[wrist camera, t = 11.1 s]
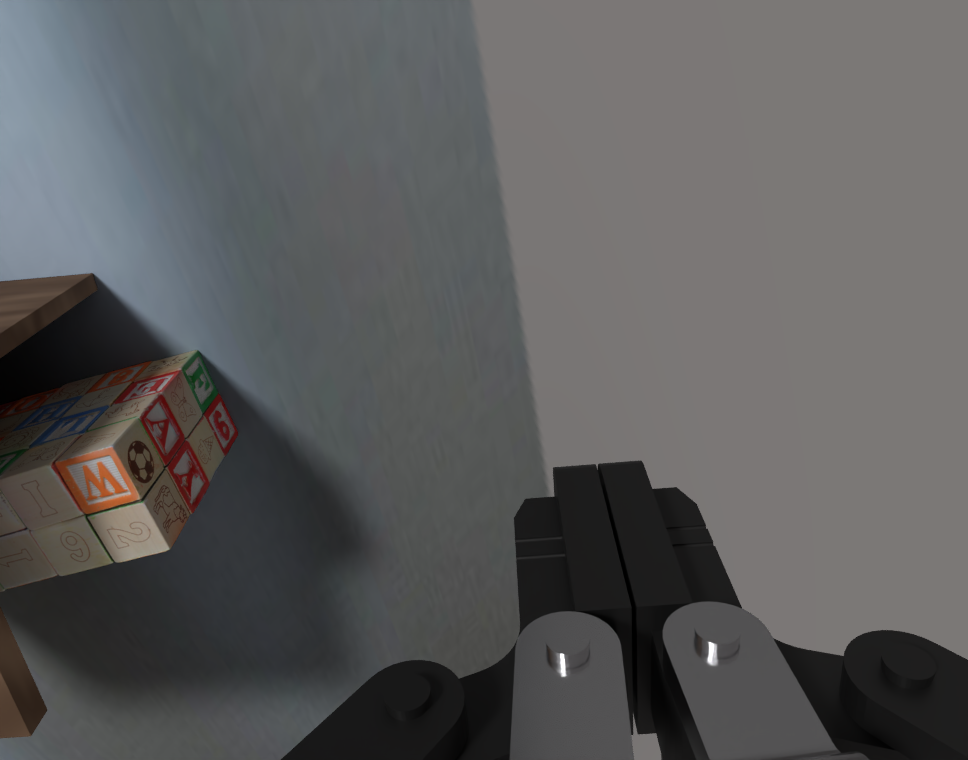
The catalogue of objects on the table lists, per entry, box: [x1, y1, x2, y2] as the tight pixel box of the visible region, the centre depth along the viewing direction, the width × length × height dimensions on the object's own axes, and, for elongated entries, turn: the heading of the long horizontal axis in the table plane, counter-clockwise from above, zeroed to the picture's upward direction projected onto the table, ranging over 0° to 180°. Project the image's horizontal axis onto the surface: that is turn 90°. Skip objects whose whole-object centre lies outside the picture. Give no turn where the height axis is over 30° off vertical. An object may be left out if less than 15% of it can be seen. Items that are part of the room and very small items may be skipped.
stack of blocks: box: [0, 350, 238, 592], centre depth 44 cm, size 21×6×12 cm, turn 106°
